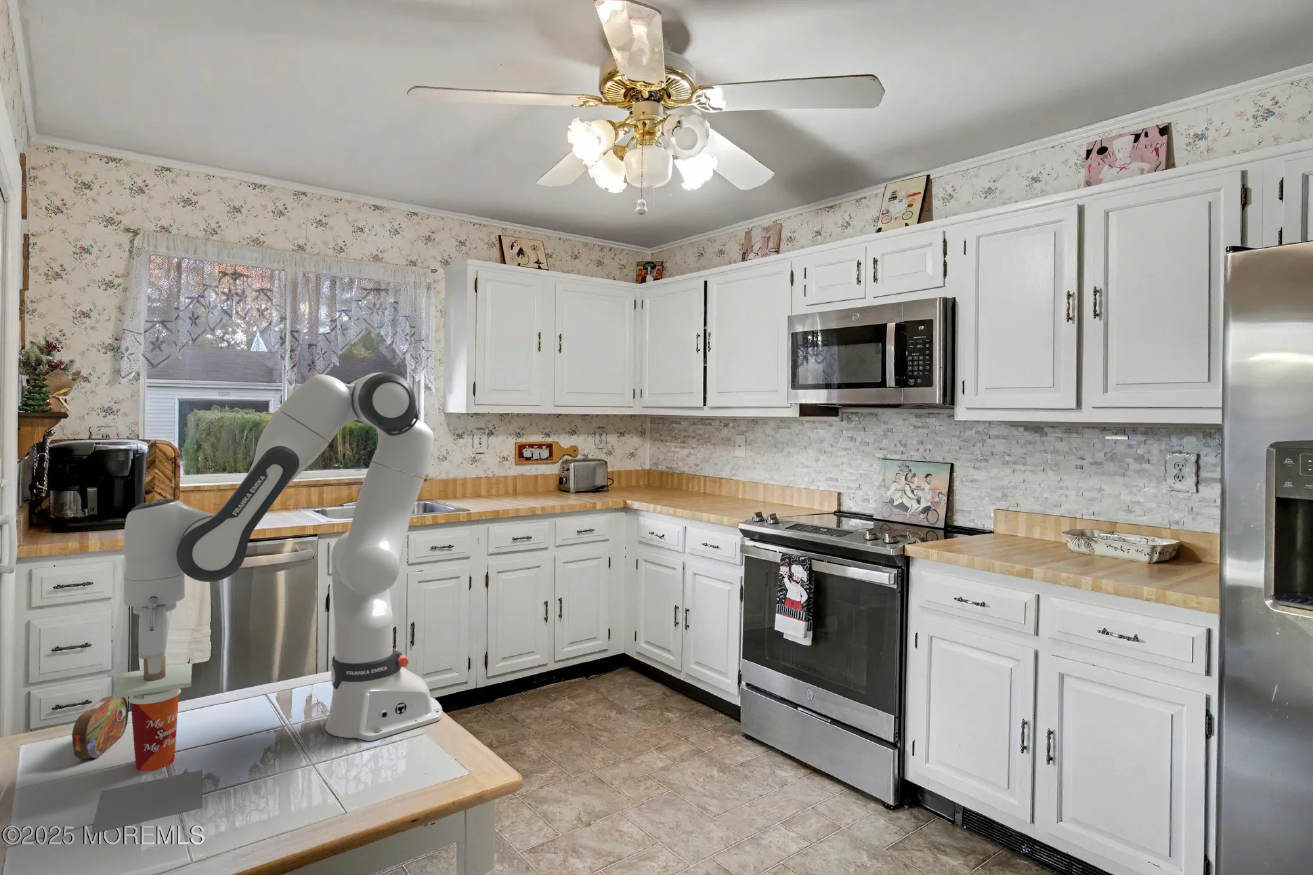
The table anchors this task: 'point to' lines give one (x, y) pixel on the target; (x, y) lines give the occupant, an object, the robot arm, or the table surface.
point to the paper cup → (154, 728)
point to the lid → (153, 680)
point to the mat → (148, 801)
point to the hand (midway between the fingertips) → (155, 668)
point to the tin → (100, 727)
